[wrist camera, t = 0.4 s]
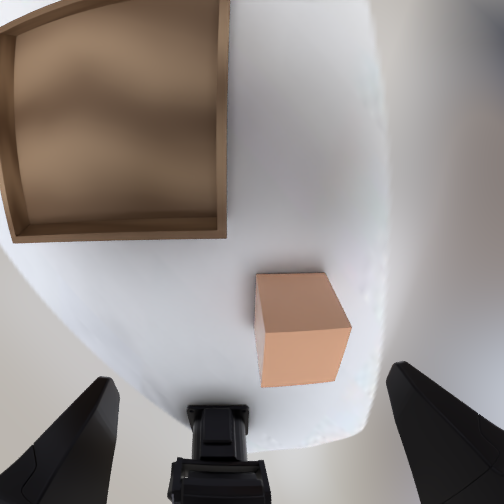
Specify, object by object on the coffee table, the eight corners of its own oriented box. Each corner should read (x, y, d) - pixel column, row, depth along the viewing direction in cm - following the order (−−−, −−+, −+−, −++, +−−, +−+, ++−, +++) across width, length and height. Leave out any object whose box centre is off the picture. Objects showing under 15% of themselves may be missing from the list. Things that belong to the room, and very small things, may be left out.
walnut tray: (226, 221, 19) (226, 238, 17) (30, 228, 18) (13, 243, 16) (230, -13, 12) (231, -29, 10) (16, 32, 11) (-5, 29, 9)
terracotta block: (315, 324, 24) (334, 381, 19) (254, 327, 24) (261, 387, 18) (324, 272, 22) (351, 327, 16) (256, 274, 21) (265, 332, 16)
